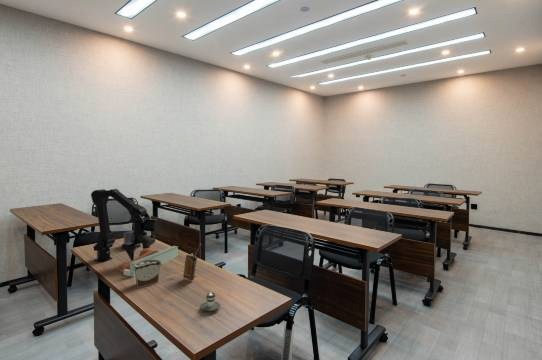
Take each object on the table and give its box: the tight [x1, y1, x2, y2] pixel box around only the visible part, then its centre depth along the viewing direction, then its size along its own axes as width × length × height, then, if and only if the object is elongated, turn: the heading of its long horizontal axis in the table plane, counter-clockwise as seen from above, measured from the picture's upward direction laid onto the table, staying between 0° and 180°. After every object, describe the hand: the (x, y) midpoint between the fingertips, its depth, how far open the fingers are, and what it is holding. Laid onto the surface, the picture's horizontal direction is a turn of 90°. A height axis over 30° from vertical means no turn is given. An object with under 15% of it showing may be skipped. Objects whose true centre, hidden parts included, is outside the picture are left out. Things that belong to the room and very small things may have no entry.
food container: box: [133, 259, 162, 289], centre depth 133 cm, size 12×6×10 cm, turn 135°
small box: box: [123, 230, 142, 250], centre depth 185 cm, size 11×6×10 cm, turn 52°
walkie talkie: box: [166, 243, 202, 281], centre depth 139 cm, size 13×13×18 cm
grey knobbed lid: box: [199, 291, 221, 312], centre depth 115 cm, size 12×12×5 cm
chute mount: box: [123, 245, 179, 278], centre depth 156 cm, size 7×32×7 cm, turn 159°
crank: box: [118, 247, 160, 274], centre depth 154 cm, size 20×8×8 cm, turn 147°
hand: (139, 258), depth 159 cm, fingers open, 9 cm apart
